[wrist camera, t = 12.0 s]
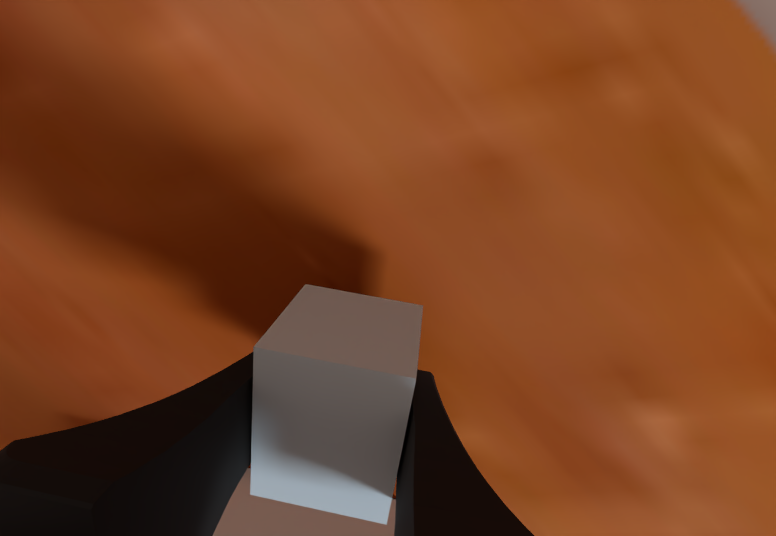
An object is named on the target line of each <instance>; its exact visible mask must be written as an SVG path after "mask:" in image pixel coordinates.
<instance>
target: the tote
mask: <svg viewBox="0 0 776 536" xmlns="http://www.w3.org/2000/svg"><path fill="white" fill-rule="evenodd" d="M250 483H251V469H250V468H247V470H246V472H245V473H244V475H243V477H242V478H241V480H240V482H239V483H238V485H237V487H236V489H235V491H234V492H233V494H232V496H231V498H230V500H229V502H228V504H227V506H226V508H225V510H224V512H223V514H222V517H221V519H220V521H219V523H218V525H217V527H216V529H215V531H214V533H213V536H394V529H395V512H396V499H392V501H391V506H390V511H389V516H388V521H387V525H386V524H381V523H377V522H372V521H368V520H363V519H359V518H354V517H349V516H345V515H340V514H336V513H331V512H327V511H322V510H318V509H313V508H309V507H304V506H300V505H295V504H291V503H286V502H281V501H277V500H272V499H268V498H263V497H259V496H254V495H250Z"/></svg>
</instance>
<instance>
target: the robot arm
mask: <svg viewBox="0 0 776 536" xmlns="http://www.w3.org/2000/svg"><path fill="white" fill-rule="evenodd" d="M253 354H254V352H252V353H251V354H249V355H247V356H246V357H244V358H242V359H241V360H239V361H237V362H236V363H234V364H232V365H230V366H229V367H227V368H225V369H224V370H222V371H220V372H218V373H216V374H214V375H212V376H211V377H209V378H207V379H205V380H203V381H201V382H199V383H197V384H195V385H193V386H191V387H189V388H187V389H185V390H183V391H181V392H178V393H176V394H174V395H171V396H169V397H167V398H164V399H162V400H160V401H157V402H155V403H152V404H149V405H146V406H143V407H141V408H138V409H135V410H132V411H129V412H126V413H124V414H121V415H118V416H114V417H111V418H108V419H104V420H101V421H98V422H94V423H90V424H87V425H83V426H79V427H75V428H71V429H67V430H63V431H58V432H54V433H49V434H44V435H40V436H35V437H30V438H26V439H20V440H15V441H13V442H12V443H10V444H9V445H7V446H6V447H5V448H3V449H2V450H1V451H0V536H213V533H214V531H215V529H216V527H217V525H218V523H219V521H220V519H221V517H222V514H223V512H224V510H225V508H226V506H227V504H228V502H229V500H230V498H231V496H232V494H233V492H234V491H235V489H236V487H237V485H238V483H239V482H240V480H241V478H242V477H243V475H244V473H245V472H246V470H247V468H248V467H249V465H250V463H251V440H252V397H253ZM394 536H534V535H533V534H532V533H531V532H530V531H529V530H528V529H527V528H526V527H525V526H524V525H523V524H522V523H521V522H520V521H519V519H518V518H517V517H516V516H515V515H514V514H513V513H512V512H511V511H510V510H509V509H508V507H507V506H506V505H505V504H504V503H503V501H502V500H501V499H500V498H499V497H498V495H497V494H496V493H495V492H494V490H493V489H492V488H491V487H490V485H489V484H488V483H487V481H486V480H485V479H484V477H483V476H482V474H481V473H480V472H479V470H478V469H477V467H476V466H475V464H474V463H473V461H472V459H471V458H470V456H469V455H468V453H467V451H466V450H465V448H464V446H463V445H462V443H461V441H460V439H459V437H458V435H457V433H456V432H455V430H454V428H453V426H452V424H451V422H450V419H449V417H448V415H447V413H446V410H445V408H444V406H443V403H442V401H441V398H440V396H439V393H438V390H437V387H436V384H435V380H434V376H433V375H432V373H431V372H427V371H422V370H417V377H416V383H415V388H414V393H413V397H412V402H411V407H410V412H409V417H408V422H407V427H406V432H405V437H404V442H403V447H402V452H401V457H400V461H399V466H398V471H397V484H396V512H395V529H394Z"/></svg>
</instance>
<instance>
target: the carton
mask: <svg viewBox="0 0 776 536" xmlns="http://www.w3.org/2000/svg"><path fill="white" fill-rule="evenodd" d="M422 311H423V305H417V304H412V303H406V302H401V301H395V300H390V299H385V298H379V297H374V296H368V295H363V294H357V293H352V292H346V291H341V290H336V289H330V288H325V287H319V286H314V285H308V284H305V285H304V287H303V288H302V289H301V290H300V291H299V293H298V294H297V295H296V296H295V297H294V299H293V300H292V301H291V302H290V303H289V305H288V306H287V307H286V308H285V310H284V311H283V312H282V313H281V314H280V316H279V317H278V318H277V319H276V320H275V322H274V323H273V324H272V325H271V327H270V328H269V329H268V330H267V331H266V333H265V334H264V335H263V336H262V337H261V339H260V340H259V341H258V342H257V343H256V345H255V346H254V354H253V397H252V440H251V483H250V495H254V496H259V497H263V498H268V499H272V500H277V501H281V502H286V503H291V504H295V505H300V506H304V507H309V508H313V509H318V510H322V511H327V512H331V513H336V514H340V515H345V516H349V517H354V518H359V519H363V520H368V521H372V522H377V523H381V524H386V525H387V521H388V516H389V511H390V506H391V501H392V496H393V491H394V486H395V481H396V476H397V471H398V466H399V461H400V457H401V452H402V447H403V442H404V437H405V432H406V427H407V422H408V417H409V412H410V407H411V402H412V397H413V393H414V388H415V383H416V377H417V366H418V355H419V344H420V333H421V322H422Z"/></svg>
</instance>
